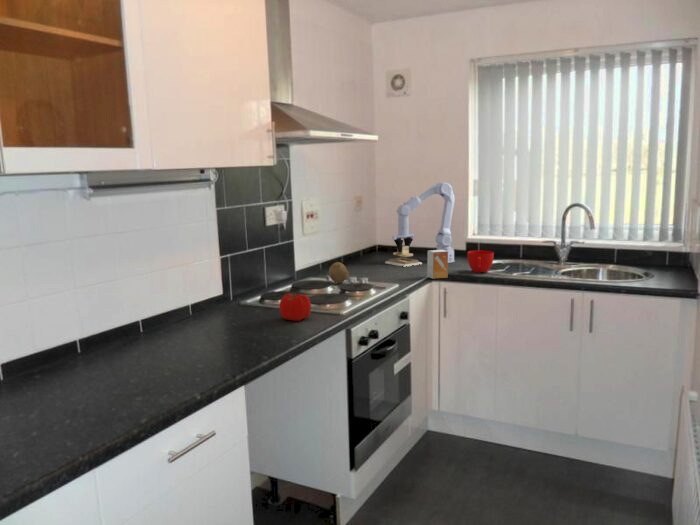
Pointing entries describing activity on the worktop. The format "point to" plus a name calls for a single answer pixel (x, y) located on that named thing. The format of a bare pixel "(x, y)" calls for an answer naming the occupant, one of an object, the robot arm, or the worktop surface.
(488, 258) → the ceramic cup
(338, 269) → the coconut
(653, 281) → the worktop surface
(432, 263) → the small box
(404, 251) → the flange block
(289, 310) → the tomato
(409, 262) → the keyed base
